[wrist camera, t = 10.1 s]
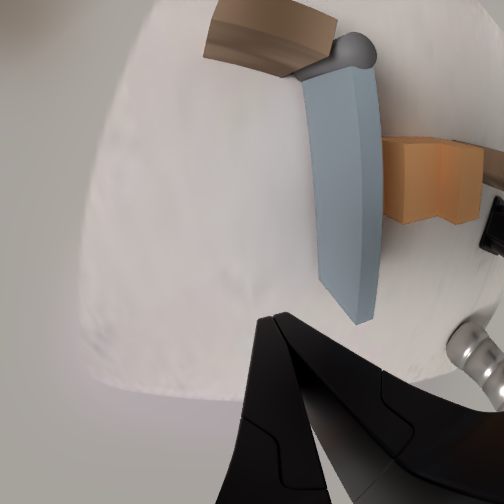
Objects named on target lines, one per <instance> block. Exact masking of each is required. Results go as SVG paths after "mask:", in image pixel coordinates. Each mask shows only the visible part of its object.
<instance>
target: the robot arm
mask: <svg viewBox="0 0 504 504" xmlns="http://www.w3.org/2000/svg"><path fill="white" fill-rule="evenodd" d="M479 247H480V248H481V249H483V250H486V251H488V252H490V253H492V254H495V255H498V254H499V255H501V256H503V257H504V201H503V200H502V199H501V198H500V197H498V196H496V197H495V200H494V203H493V207H492V210H491V213H490V216H489V219H488V222H487V225H486V228H485V231H484V234H483V236H482V239H481V242H480V245H479ZM310 425H311V426H312V428H313V430H314V432H315V434H316V436H317V438H318V440H319V442H320V444H321V445H322V447H323V449H324V451H325V453H326V455H327V457H328V459H329V460H330V462H331V464H332V466H333V468H334V470H335V472H336V473H337V475H338V477H339V479H340V481H341V483H342V484H343V486H344V488H345V490H346V492H347V493H348V495H349V497H350V499H351V500H352V502H353V504H504V411H501V412H481V411H476V410H472V409H469V408H467V407H464V406H461V405H459V404H455V403H453V402H451V401H448V400H445V399H443V398H440V397H437V396H435V395H433V394H430V393H428V392H426V391H423V390H421V389H419V388H417V387H415V386H412V385H410V384H408V383H407V382H405V381H403V380H401V379H399V378H397V377H395V376H393V375H392V374H390V373H388V372H386V371H385V370H383V371H382V369H381V368H379V367H378V366H376V365H374V364H372V363H371V362H369V361H367V360H366V359H364V358H362V357H361V356H359V355H357V354H355V353H354V352H352V351H350V350H349V349H347V348H345V347H344V346H342V345H340V344H339V343H337V342H335V341H334V340H332V339H330V338H329V337H327V336H326V335H324V334H322V333H321V332H319V331H317V330H316V329H314V328H312V327H311V326H309V325H308V324H306V323H304V322H303V321H301V320H300V319H298V318H296V317H295V316H293V315H292V314H290V313H288V312H283V313H279V314H275V315H273V317H272V316H267V317H264V318H260V319H258V320H257V324H256V330H255V337H254V343H253V349H252V355H251V361H250V367H249V373H248V379H247V385H246V391H245V397H244V402H243V408H242V414H241V419H240V425H239V430H238V435H237V440H236V444H235V448H234V452H233V455H232V459H231V462H230V465H229V468H228V471H227V474H226V477H225V479H224V482H223V485H222V487H221V490H220V492H219V495H218V498H217V500H216V503H215V504H332V503H331V499H330V496H329V492H328V490H327V485H326V481H325V477H324V474H323V470H322V466H321V462H320V459H319V455H318V451H317V448H316V444H315V441H314V437H313V433H312V430H311V426H310Z"/></svg>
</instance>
